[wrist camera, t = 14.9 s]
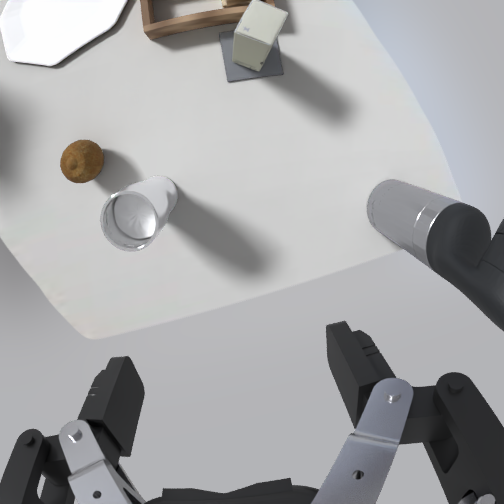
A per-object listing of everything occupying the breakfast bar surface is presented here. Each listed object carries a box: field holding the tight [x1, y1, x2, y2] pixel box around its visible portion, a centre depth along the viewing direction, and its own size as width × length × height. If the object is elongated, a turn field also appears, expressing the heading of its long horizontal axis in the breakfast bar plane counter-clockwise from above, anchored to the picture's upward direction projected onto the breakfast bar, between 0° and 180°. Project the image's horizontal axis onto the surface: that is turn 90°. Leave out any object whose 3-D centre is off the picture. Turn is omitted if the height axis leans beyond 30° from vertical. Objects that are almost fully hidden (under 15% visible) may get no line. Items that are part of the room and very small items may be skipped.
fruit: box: [60, 140, 104, 183], centre depth 38 cm, size 6×6×8 cm
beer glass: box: [101, 175, 178, 251], centre depth 38 cm, size 7×7×15 cm
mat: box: [219, 31, 283, 82], centre depth 38 cm, size 8×8×1 cm
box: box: [232, 0, 288, 71], centre depth 32 cm, size 5×4×13 cm
